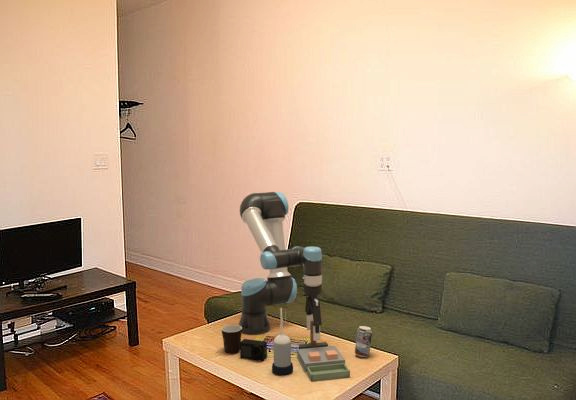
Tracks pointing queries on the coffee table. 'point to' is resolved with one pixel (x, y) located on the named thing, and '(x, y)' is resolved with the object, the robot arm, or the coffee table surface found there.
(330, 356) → the tile
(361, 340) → the beverage can
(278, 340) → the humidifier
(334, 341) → the coffee table surface
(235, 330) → the coffee mug
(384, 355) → the coffee table surface
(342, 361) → the grey flat block
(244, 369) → the coffee table surface
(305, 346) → the scraper
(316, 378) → the box
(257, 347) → the digital camera
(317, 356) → the tile
